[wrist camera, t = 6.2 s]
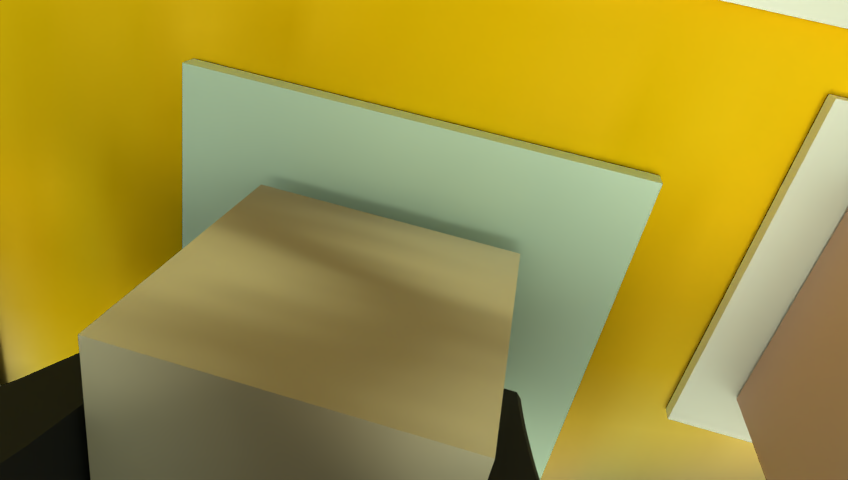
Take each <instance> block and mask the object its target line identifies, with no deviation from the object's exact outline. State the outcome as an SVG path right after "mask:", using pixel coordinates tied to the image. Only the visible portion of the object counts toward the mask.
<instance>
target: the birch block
mask: <svg viewBox="0 0 848 480" xmlns="http://www.w3.org/2000/svg"><path fill="white" fill-rule="evenodd" d="M519 261H520V254H519V253H516V252H512V251H508V250H505V249H501V248H497V247H493V246H490V245H486V244H482V243H478V242H475V241H471V240H467V239H463V238H460V237H456V236H452V235H448V234H445V233H441V232H437V231H433V230H430V229H426V228H422V227H419V226H415V225H411V224H407V223H404V222H400V221H396V220H392V219H389V218H385V217H381V216H377V215H374V214H370V213H366V212H362V211H359V210H355V209H351V208H347V207H344V206H340V205H336V204H333V203H329V202H325V201H321V200H318V199H314V198H310V197H306V196H303V195H299V194H295V193H291V192H288V191H284V190H280V189H276V188H273V187H269V186H265V185H260V186H259V187H257V188H256V189H255V190H254V191H252V192H251V193H250V194H249V195H248V196H246V197H245V198H244V199H243V200H241V201H240V202H239V203H238V204H237V205H235V206H234V207H233V208H232V209H230V210H229V211H228V212H227V213H226V214H224V215H223V216H222V217H221V218H220V219H218V220H217V221H216V222H215V223H213V224H212V225H211V226H210V227H209V228H207V229H206V230H205V231H204V232H202V233H201V234H200V235H199V236H198V237H196V238H195V239H194V240H193V241H191V242H190V243H189V244H188V245H187V246H185V247H184V248H183V249H182V250H181V251H179V252H178V253H177V254H176V255H174V256H173V257H172V258H171V259H170V260H168V261H167V262H166V263H165V264H163V265H162V266H161V267H160V268H159V269H157V270H156V271H155V272H154V273H152V274H151V275H150V276H149V277H148V278H146V279H145V280H144V281H143V282H142V283H140V284H139V285H138V286H137V287H135V288H134V289H133V290H132V291H131V292H129V293H128V294H127V295H126V296H124V297H123V298H122V299H121V300H120V301H118V302H117V303H116V304H115V305H113V306H112V307H111V308H110V309H109V310H107V311H106V312H105V313H104V314H103V315H101V316H100V317H99V318H98V319H96V320H95V321H94V322H93V323H92V324H90V325H89V326H88V327H87V328H85V329H84V330H83V331H82V332H81V333H79V334H78V341H79V353H80V364H81V376H82V388H83V399H84V411H85V422H86V434H87V445H88V457H89V469H90V480H488V477H489V474H490V472H491V469H492V466H493V463H494V460H495V455H496V446H497V438H498V430H499V422H500V414H501V406H502V398H503V390H504V382H505V374H506V366H507V358H508V350H509V342H510V334H511V325H512V317H513V309H514V301H515V293H516V285H517V277H518V269H519Z"/></svg>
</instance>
